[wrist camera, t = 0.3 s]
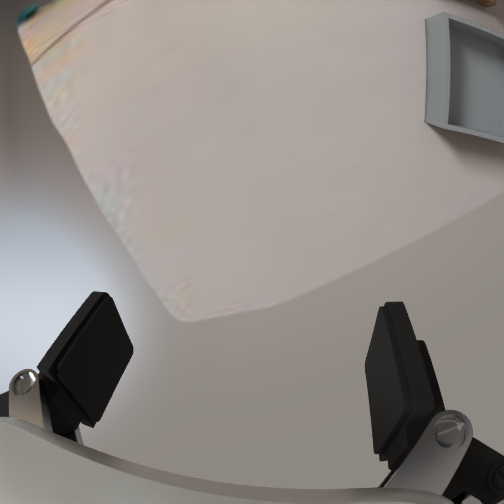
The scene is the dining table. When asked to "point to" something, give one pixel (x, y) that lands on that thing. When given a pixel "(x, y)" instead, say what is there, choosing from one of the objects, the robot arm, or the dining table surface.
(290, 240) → the dining table surface
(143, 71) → the dining table surface
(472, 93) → the bin
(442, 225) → the dining table surface
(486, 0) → the collar
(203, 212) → the dining table surface
